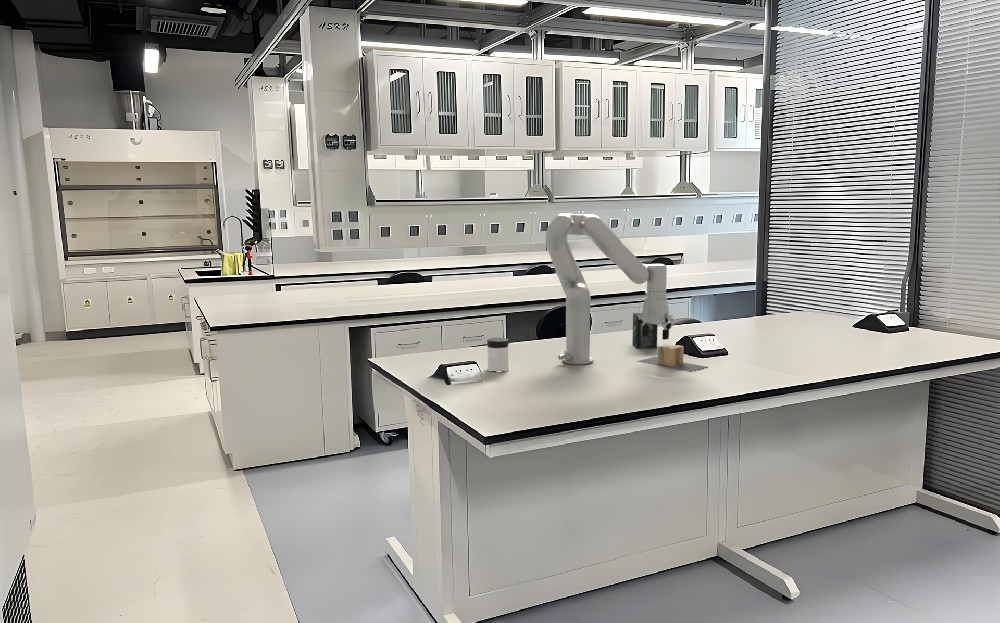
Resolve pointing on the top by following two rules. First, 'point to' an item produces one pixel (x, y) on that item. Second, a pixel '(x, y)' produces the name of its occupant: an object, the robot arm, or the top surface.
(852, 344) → the top surface
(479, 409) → the top surface
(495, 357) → the jar
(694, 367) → the rubber mat
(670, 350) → the oak block
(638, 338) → the tampon box
